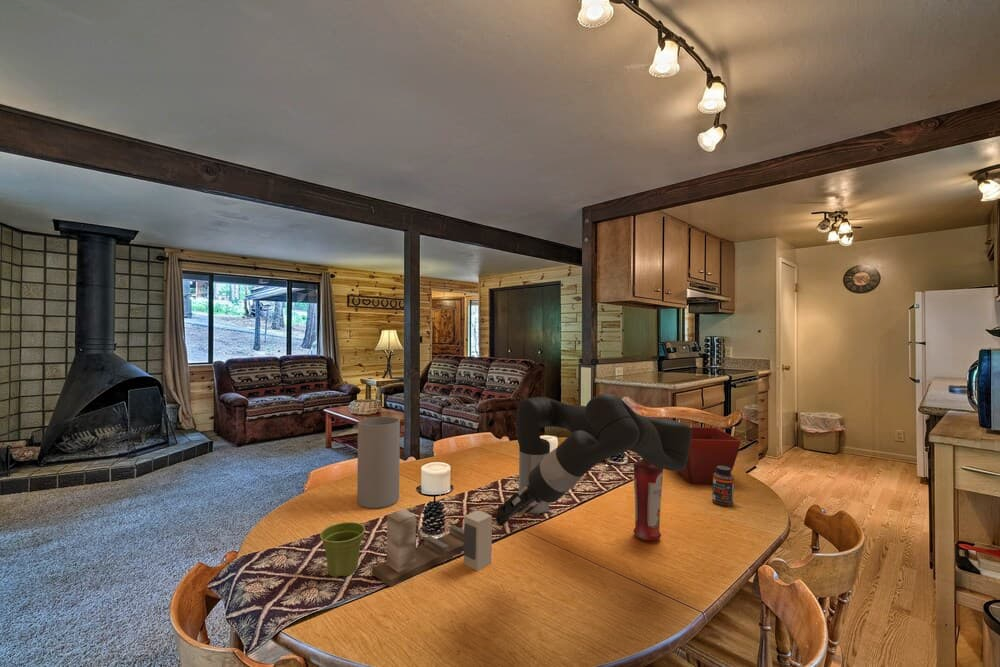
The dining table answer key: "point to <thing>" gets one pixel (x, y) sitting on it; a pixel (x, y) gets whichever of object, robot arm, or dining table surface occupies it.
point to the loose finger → (477, 540)
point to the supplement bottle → (723, 486)
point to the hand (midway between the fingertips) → (511, 515)
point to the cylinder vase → (378, 462)
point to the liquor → (647, 500)
